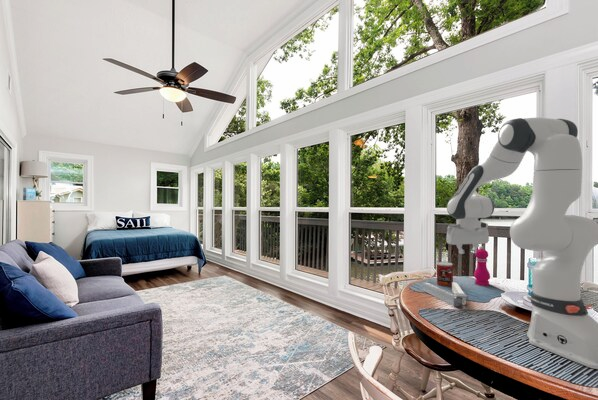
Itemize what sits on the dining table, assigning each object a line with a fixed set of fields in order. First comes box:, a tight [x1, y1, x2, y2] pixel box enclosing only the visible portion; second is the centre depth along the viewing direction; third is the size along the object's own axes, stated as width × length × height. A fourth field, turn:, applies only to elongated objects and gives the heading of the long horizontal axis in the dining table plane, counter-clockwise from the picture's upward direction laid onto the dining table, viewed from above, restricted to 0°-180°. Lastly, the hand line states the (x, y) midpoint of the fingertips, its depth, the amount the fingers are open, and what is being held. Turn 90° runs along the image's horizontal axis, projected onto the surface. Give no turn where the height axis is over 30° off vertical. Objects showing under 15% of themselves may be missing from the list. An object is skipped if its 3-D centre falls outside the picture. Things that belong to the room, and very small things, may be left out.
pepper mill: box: [473, 245, 491, 287], centre depth 150 cm, size 7×7×20 cm
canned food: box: [436, 261, 454, 287], centre depth 151 cm, size 8×8×11 cm
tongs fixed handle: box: [422, 282, 463, 309], centre depth 128 cm, size 24×3×4 cm, turn 10°
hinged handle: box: [451, 281, 468, 306], centre depth 127 cm, size 24×4×5 cm, turn 160°
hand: (467, 253), depth 134 cm, fingers open, 5 cm apart
